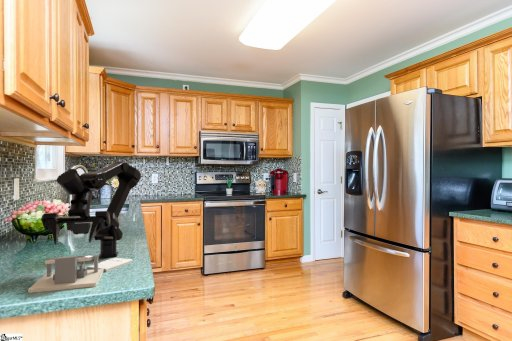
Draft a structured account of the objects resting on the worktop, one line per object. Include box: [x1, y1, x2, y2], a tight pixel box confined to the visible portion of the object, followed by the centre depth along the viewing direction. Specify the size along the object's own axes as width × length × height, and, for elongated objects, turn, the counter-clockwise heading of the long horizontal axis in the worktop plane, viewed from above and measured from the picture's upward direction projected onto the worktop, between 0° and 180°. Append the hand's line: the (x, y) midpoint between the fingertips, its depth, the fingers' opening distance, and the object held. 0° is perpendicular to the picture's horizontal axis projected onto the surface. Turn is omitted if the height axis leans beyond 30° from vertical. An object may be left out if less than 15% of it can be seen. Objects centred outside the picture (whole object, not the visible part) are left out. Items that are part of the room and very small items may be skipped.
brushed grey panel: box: [44, 255, 94, 265], centre depth 93 cm, size 1×11×8 cm
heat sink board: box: [27, 254, 105, 294], centre depth 92 cm, size 14×16×8 cm
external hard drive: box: [85, 257, 133, 273], centre depth 108 cm, size 2×8×12 cm
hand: (72, 242), depth 95 cm, fingers open, 9 cm apart
